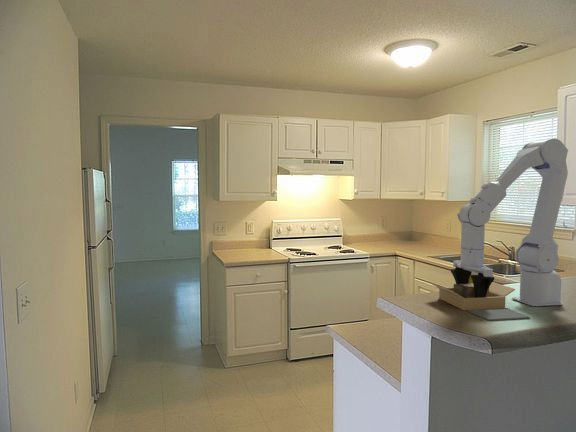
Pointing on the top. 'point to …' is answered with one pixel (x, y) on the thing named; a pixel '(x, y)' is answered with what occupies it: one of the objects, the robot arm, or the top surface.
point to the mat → (498, 314)
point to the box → (466, 290)
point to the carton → (491, 302)
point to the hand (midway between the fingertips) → (470, 298)
